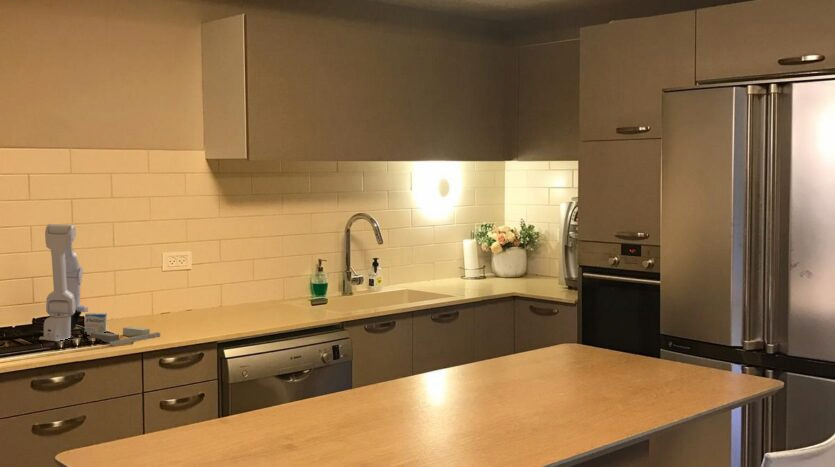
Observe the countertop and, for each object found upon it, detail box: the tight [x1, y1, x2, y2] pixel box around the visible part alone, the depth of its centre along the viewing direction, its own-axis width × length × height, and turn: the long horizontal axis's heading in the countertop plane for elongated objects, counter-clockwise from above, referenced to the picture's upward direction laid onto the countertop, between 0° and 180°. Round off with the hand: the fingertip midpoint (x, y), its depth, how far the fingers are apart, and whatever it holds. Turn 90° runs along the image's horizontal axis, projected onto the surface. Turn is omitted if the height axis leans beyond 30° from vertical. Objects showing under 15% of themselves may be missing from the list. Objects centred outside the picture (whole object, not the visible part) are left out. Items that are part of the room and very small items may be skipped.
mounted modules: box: [90, 325, 151, 345], centre depth 355 cm, size 21×10×3 cm, turn 155°
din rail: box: [109, 332, 161, 347], centre depth 351 cm, size 26×2×2 cm, turn 155°
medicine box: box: [84, 312, 108, 333], centre depth 360 cm, size 8×4×9 cm, turn 106°
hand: (72, 328), depth 365 cm, fingers closed
